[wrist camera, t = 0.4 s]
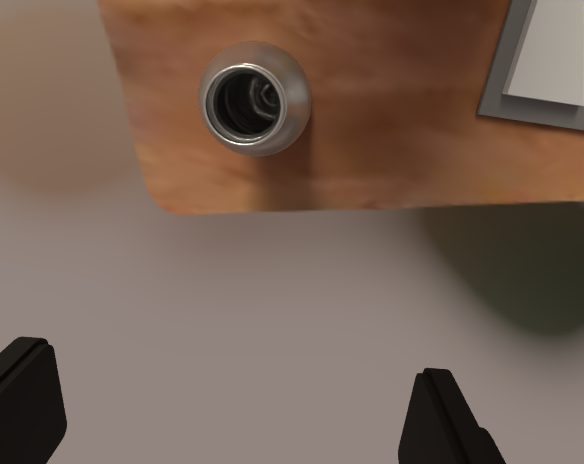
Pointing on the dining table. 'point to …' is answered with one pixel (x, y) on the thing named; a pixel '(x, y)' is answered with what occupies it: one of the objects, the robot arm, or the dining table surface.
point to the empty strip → (550, 54)
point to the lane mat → (514, 105)
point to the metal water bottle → (254, 98)
